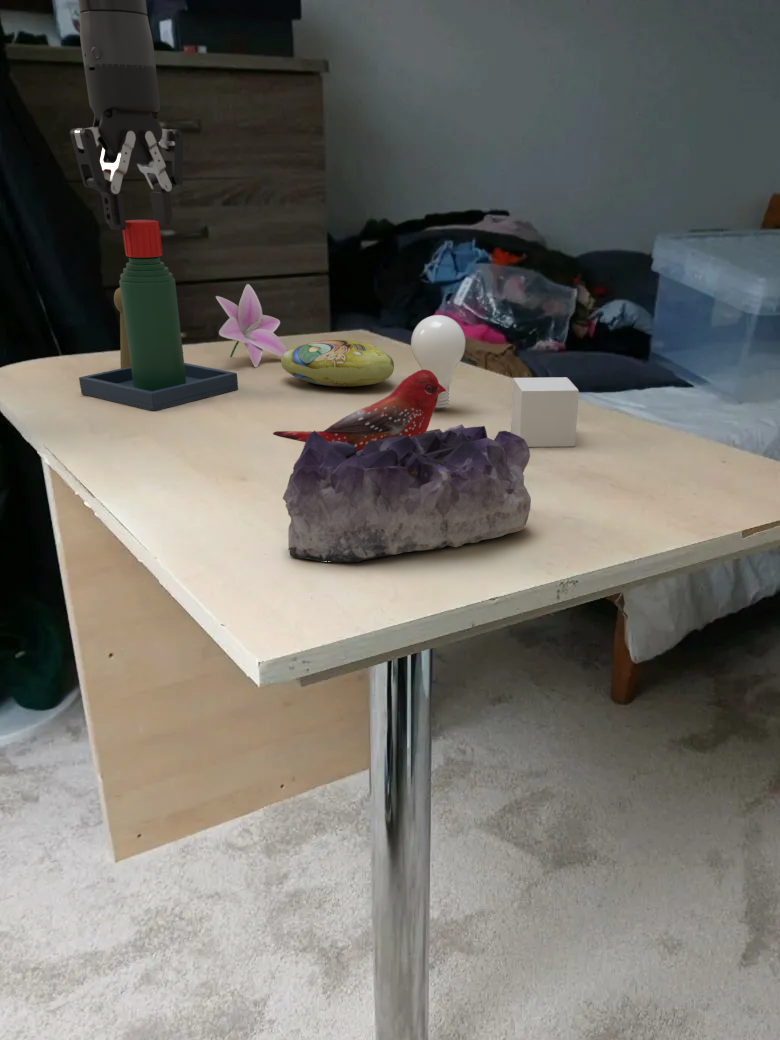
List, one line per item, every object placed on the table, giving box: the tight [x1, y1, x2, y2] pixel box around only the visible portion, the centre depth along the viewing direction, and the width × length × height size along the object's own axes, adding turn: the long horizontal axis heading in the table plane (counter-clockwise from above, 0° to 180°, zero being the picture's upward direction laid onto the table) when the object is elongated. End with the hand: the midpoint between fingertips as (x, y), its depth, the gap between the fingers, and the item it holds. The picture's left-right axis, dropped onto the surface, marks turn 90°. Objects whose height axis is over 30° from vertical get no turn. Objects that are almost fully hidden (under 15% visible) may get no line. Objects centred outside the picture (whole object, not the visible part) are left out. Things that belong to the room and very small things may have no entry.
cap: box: [121, 219, 163, 258], centre depth 111 cm, size 4×4×4 cm
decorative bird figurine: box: [272, 369, 446, 452], centre depth 86 cm, size 3×18×10 cm, turn 122°
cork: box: [113, 287, 131, 369], centre depth 128 cm, size 6×6×11 cm
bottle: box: [118, 256, 186, 392], centre depth 114 cm, size 6×6×19 cm
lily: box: [215, 283, 288, 368], centre depth 135 cm, size 12×12×10 cm
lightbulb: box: [410, 314, 467, 412], centre depth 110 cm, size 6×6×11 cm
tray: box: [78, 362, 239, 412], centre depth 119 cm, size 14×14×2 cm
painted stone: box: [280, 339, 395, 388], centre depth 123 cm, size 11×8×15 cm
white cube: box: [510, 376, 580, 448], centre depth 101 cm, size 6×6×6 cm
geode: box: [282, 423, 532, 563], centre depth 75 cm, size 20×12×10 cm, turn 119°
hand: (140, 227), depth 110 cm, fingers open, 6 cm apart
